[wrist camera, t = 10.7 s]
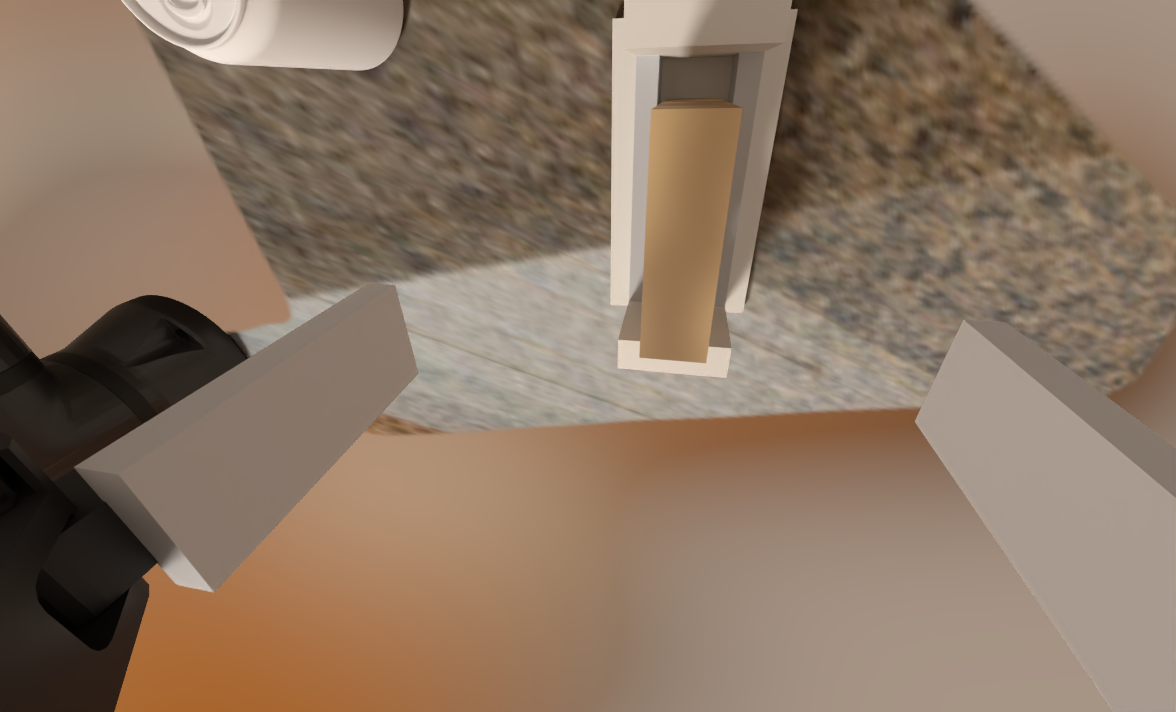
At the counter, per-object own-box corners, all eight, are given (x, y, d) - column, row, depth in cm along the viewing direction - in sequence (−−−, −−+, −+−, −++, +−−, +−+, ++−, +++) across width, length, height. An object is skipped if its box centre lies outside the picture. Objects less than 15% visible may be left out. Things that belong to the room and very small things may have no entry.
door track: (612, 300, 35) (588, 365, 27) (614, 20, 26) (580, -10, 18) (741, 308, 33) (758, 380, 25) (794, 11, 24) (848, -28, 16)
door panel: (656, 257, 32) (637, 357, 20) (666, 98, 27) (648, 109, 15) (701, 259, 31) (708, 363, 20) (720, 97, 26) (745, 107, 14)
